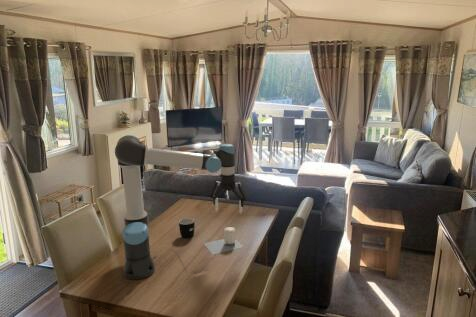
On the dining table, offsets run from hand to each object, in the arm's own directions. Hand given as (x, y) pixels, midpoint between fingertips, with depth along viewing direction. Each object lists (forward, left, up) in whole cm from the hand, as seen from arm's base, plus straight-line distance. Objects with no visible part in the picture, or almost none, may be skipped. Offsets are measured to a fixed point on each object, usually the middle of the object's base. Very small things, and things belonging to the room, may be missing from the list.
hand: (228, 211), depth 195 cm
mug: (-17, +22, -21) cm, 35 cm away
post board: (-4, 0, -20) cm, 21 cm away
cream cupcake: (0, 0, -18) cm, 18 cm away
